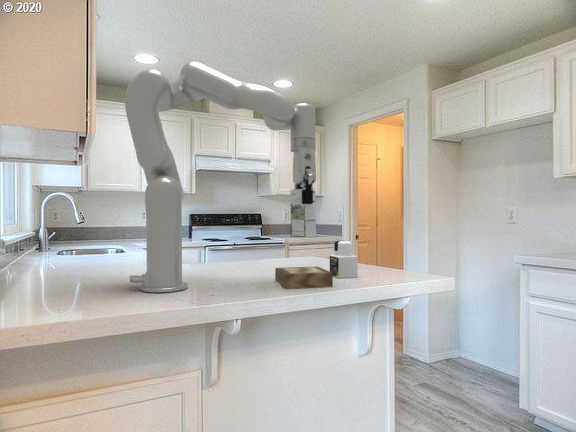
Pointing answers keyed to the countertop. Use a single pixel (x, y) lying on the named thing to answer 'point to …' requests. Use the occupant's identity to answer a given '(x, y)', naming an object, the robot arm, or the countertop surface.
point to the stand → (303, 277)
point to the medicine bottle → (343, 260)
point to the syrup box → (302, 215)
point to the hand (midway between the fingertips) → (303, 204)
